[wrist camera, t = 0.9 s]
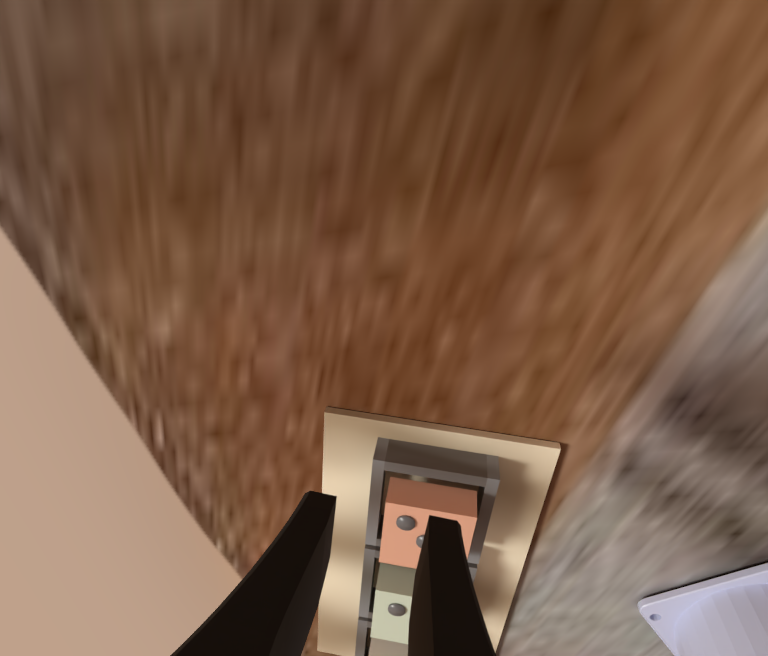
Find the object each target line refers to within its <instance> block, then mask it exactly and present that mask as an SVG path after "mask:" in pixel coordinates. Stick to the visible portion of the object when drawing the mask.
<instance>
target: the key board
mask: <svg viewBox="0 0 768 656" xmlns="http://www.w3.org/2000/svg"><path fill="white" fill-rule="evenodd" d="M560 450H561V448H560V443H557V442H551V441H544V440H538V439H532V438H525V437H519V436H512V435H506V434H500V433H493V432H487V431H480V430H474V429H467V428H461V427H455V426H448V425H442V424H435V423H429V422H422V421H416V420H410V419H403V418H397V417H390V416H384V415H378V414H371V413H365V412H358V411H352V410H345V409H339V408H333V407H326V410H325V414H324V447H323V481H322V493H324V494H329V495H333V496H337V500H336V509H335V518H334V527H333V536H332V545H331V554H330V560H329V564H328V568H327V572H326V576H325V580H324V584H323V588H322V592H321V596H320V600H319V614H318V648H317V651H321V652H326V653H331V654H336V655H341V656H368V655H369V649H370V643H371V637H370V635H371V626H372V617H373V608H374V600H375V591H376V585H377V579H378V573H379V568H380V563H382V562H379V556H380V547H381V538H382V529H383V521H384V512H385V503H386V497H387V492H388V487H389V481H390V477H395V478H401V479H407V480H413V481H419V482H425V483H431V484H437V485H443V486H449V487H456V488H462V489H468V490H474V491H477V521H476V525H475V529H474V533H473V538H472V542H471V546H470V550H469V554H468V559H467V561H468V566H469V570H470V573H471V577H472V581H473V585H474V589H475V592H476V596H477V599H478V602H479V605H480V609H481V612H482V615H483V618H484V621H485V624H486V628H487V631H488V634H489V637H490V639H491V642H492V645H493V648H494V651H495V652H496V649H497V646H498V643H499V640H500V637H501V634H502V631H503V627H504V624H505V621H506V618H507V615H508V612H509V609H510V606H511V603H512V599H513V596H514V593H515V590H516V587H517V584H518V581H519V578H520V575H521V572H522V568H523V565H524V562H525V559H526V556H527V553H528V550H529V547H530V544H531V540H532V537H533V534H534V531H535V528H536V525H537V522H538V519H539V516H540V513H541V509H542V506H543V503H544V500H545V497H546V494H547V491H548V488H549V485H550V481H551V478H552V475H553V472H554V469H555V466H556V463H557V460H558V457H559V453H560ZM384 564H387V563H384ZM390 565H393V564H390ZM395 566H398V565H395ZM401 567H404V566H401ZM406 568H409V567H406ZM412 569H415V568H412Z"/></svg>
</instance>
